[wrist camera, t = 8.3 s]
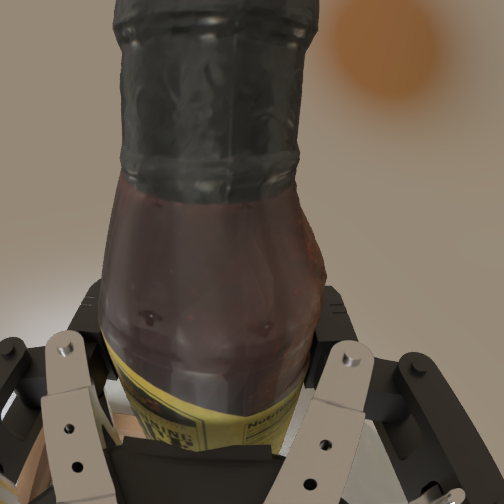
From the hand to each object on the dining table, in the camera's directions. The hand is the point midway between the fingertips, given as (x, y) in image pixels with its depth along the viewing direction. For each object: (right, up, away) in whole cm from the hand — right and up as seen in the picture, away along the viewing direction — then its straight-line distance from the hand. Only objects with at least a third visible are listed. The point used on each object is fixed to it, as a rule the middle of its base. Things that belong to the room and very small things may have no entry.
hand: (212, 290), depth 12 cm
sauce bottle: (0, -10, +3) cm, 11 cm away
